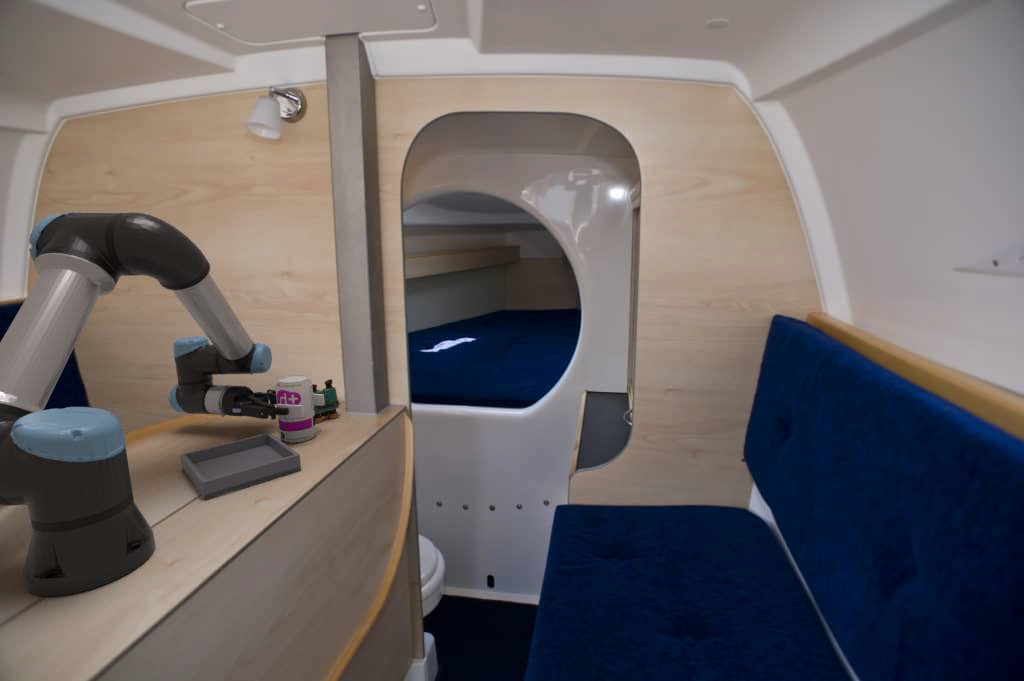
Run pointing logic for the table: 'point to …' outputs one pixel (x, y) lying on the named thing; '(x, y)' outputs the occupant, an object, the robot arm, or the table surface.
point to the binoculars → (326, 402)
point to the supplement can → (296, 393)
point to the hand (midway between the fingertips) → (313, 405)
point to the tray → (239, 464)
